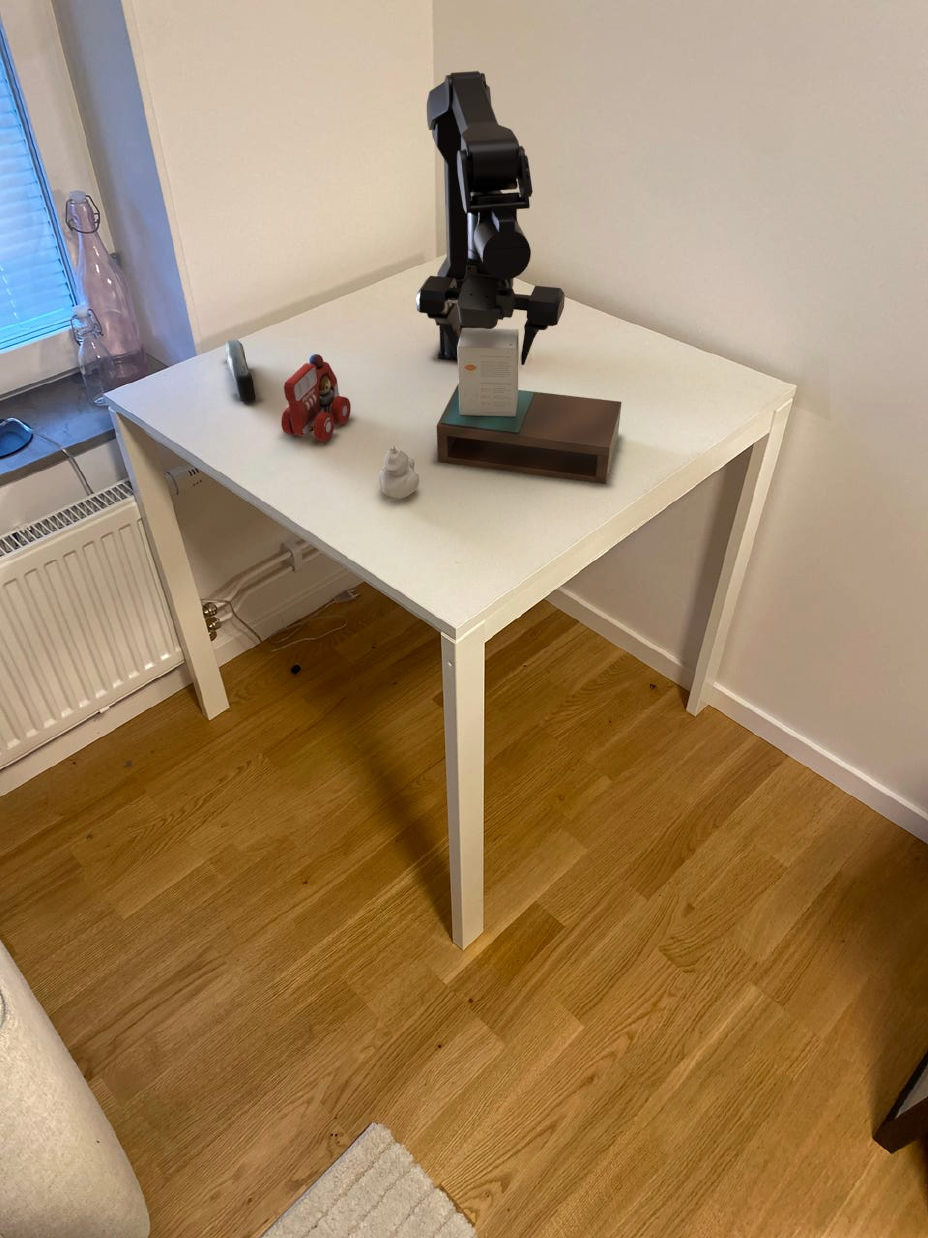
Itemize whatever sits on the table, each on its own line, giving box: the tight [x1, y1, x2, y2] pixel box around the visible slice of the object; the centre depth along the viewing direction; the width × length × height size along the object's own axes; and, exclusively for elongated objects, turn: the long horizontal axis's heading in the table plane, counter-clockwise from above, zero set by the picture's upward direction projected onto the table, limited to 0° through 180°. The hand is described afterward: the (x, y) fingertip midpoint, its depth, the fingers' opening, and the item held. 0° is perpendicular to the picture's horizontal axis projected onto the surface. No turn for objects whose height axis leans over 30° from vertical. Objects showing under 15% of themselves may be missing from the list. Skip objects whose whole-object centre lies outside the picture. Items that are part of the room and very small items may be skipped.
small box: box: [457, 328, 520, 417], centre depth 128 cm, size 8×6×10 cm
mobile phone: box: [225, 339, 257, 403], centre depth 149 cm, size 5×3×15 cm
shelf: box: [435, 382, 623, 485], centre depth 133 cm, size 24×12×6 cm, turn 75°
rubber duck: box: [378, 445, 420, 499], centre depth 125 cm, size 5×7×8 cm
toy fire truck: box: [280, 353, 352, 442], centre depth 137 cm, size 7×12×10 cm, turn 157°
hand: (490, 359), depth 128 cm, fingers open, 9 cm apart
